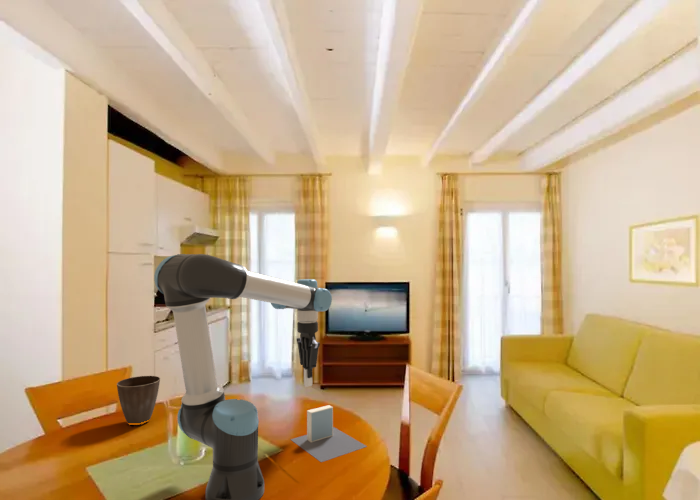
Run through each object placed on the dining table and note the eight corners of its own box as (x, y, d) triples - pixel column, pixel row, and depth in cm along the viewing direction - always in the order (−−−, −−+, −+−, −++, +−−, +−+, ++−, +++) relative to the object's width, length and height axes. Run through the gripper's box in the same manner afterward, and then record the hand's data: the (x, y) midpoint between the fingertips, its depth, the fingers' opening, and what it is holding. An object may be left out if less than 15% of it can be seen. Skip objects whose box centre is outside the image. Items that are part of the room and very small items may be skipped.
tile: (310, 442, 140) (310, 412, 140) (307, 439, 142) (307, 410, 143) (333, 435, 146) (332, 407, 146) (329, 433, 148) (329, 405, 148)
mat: (321, 464, 127) (321, 462, 127) (290, 441, 143) (290, 439, 143) (367, 448, 137) (367, 446, 137) (333, 428, 153) (333, 426, 153)
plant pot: (106, 427, 155) (107, 384, 155) (137, 413, 169) (138, 374, 169) (139, 432, 150) (139, 388, 151) (168, 417, 164) (168, 377, 165)
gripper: (325, 322, 149) (326, 388, 149) (307, 318, 159) (308, 379, 159) (307, 324, 144) (308, 392, 144) (290, 320, 155) (290, 383, 155)
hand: (308, 385), depth 152 cm, fingers closed
